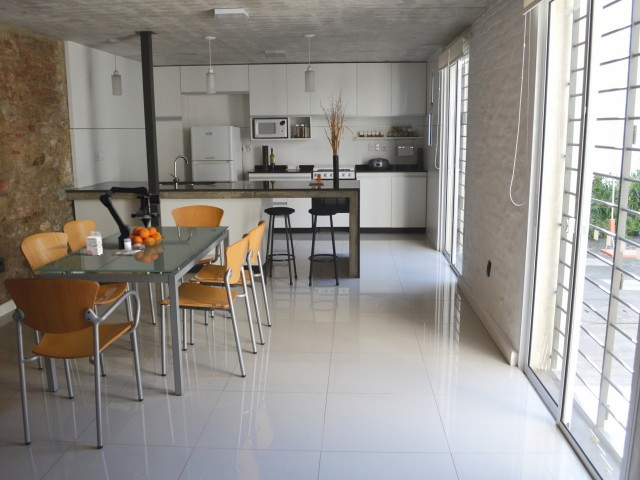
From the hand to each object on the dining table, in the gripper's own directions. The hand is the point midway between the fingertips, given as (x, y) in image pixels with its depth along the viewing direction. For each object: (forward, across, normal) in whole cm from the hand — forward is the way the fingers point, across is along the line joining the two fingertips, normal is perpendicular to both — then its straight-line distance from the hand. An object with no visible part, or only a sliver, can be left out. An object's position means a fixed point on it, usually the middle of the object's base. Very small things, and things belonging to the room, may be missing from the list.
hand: (146, 228), depth 404 cm
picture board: (+13, -2, -20) cm, 24 cm away
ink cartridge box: (+13, -22, -27) cm, 37 cm away
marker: (+12, -2, -20) cm, 24 cm away
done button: (+12, -2, -9) cm, 15 cm away
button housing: (+13, -2, -9) cm, 16 cm away
